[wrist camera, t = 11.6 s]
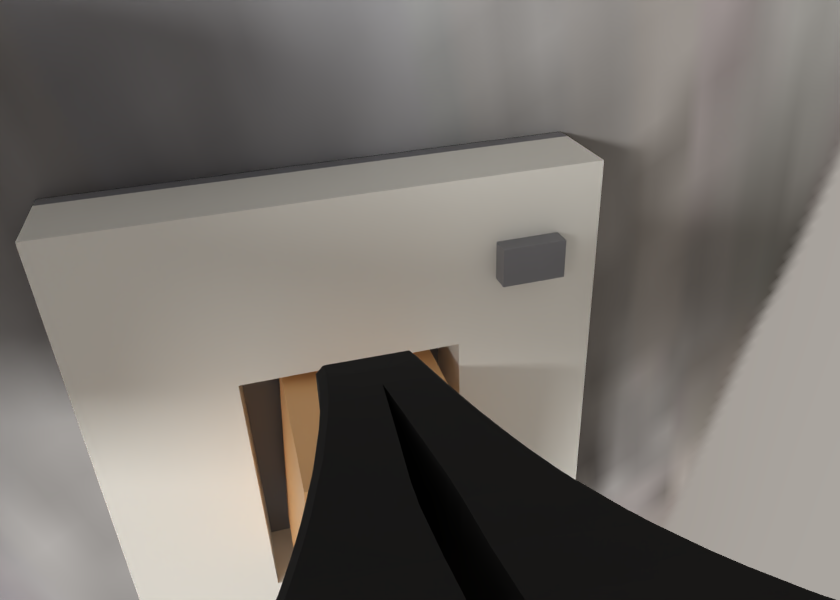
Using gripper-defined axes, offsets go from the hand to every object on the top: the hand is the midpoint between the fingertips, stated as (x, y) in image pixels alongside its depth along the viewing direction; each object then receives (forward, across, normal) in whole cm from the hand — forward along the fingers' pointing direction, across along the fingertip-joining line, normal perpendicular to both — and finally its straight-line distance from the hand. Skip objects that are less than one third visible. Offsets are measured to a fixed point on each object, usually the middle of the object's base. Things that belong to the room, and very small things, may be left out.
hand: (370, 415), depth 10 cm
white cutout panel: (+9, -1, +8) cm, 12 cm away
